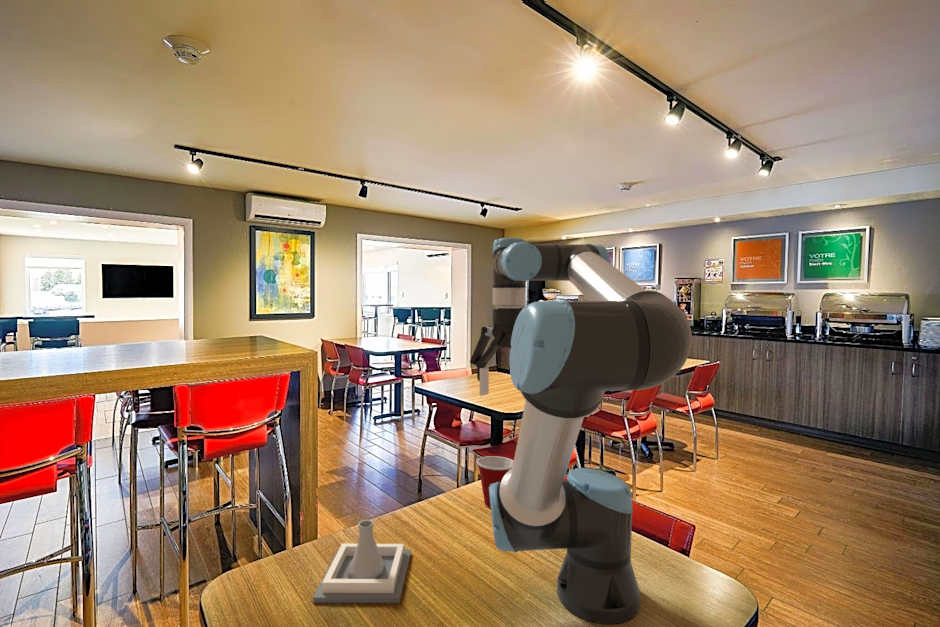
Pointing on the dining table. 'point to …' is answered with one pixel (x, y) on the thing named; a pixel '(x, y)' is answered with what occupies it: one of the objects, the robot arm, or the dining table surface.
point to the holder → (364, 590)
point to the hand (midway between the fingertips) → (508, 398)
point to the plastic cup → (492, 472)
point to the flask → (366, 554)
